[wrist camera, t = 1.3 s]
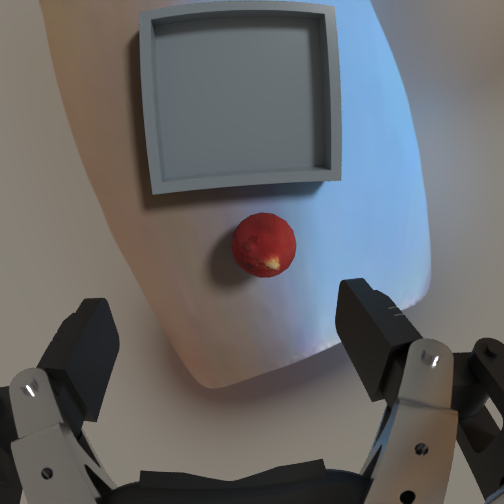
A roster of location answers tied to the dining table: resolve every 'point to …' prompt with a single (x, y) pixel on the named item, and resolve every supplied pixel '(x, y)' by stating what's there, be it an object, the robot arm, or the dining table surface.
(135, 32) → the dining table surface
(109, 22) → the dining table surface
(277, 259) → the onion
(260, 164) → the tray
